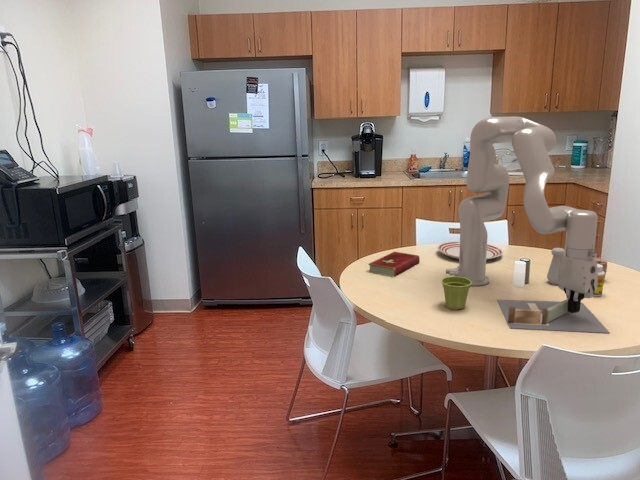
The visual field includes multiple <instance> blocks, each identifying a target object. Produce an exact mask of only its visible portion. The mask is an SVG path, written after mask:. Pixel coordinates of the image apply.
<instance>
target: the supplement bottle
mask: <svg viewBox="0 0 640 480" xmlns="http://www.w3.org/2000/svg"><path fill="white" fill-rule="evenodd" d="M597 269H598V283H597V290H596V291H594V292H593V298H597V297H601V296H602V295H603V290H604V283H605V282H604V281H605V279H604V276H605V277H606V274H605V273H604V271H602V270H603V266H602V265H600V264H597Z"/></svg>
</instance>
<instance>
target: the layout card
mask: <svg viewBox="0 0 640 480" xmlns="http://www.w3.org/2000/svg"><path fill="white" fill-rule="evenodd" d="M496 301H497V303H498V305H499V307H500V309H501V311H502V314H503V316H504V318H505V320H506V322H507V324H508V327H509V329H510V330H512V329H514V330H530V331H531V330H532V331H548V332H550V331H553V332H572V333H591V334H609V333H610V331H609V330H608V329H607V328H606V326H604V325H603V323H602V322H601V321H600V320H599V319H598V318H597V317H596V316H595V315H594V313H592V311H591V310H589V308H588V307H587V306H586V305H585V303H583V302H581V305H580V311H579V312H576V313H571V312H567V313H565V314H563V315H561V316H559V317H557V318H555V319H553V320H551V321H550V322H546V324H542V315H543V309H544V308H546V309H547V308H549V307H551V306H553V305H556V304H558V303H560V302H561V301H553V300H552V301H549V300H547V301H546V300H527V299H523V300H522V299H501V298H500V299H496ZM509 307H515V308H516V309H533V310H541V320H540V324H526V323H509V322H508V315H509Z"/></svg>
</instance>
